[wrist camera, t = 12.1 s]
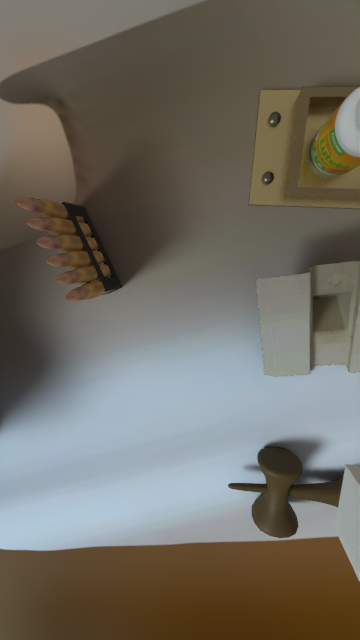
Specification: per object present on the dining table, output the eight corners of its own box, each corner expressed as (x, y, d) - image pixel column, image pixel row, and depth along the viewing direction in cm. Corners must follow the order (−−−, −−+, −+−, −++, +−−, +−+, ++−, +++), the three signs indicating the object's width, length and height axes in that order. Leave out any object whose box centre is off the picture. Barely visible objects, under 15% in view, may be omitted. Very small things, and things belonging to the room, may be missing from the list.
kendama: (367, 509, 41) (225, 498, 42) (377, 449, 39) (228, 439, 40) (394, 551, 35) (228, 536, 37) (408, 483, 33) (232, 470, 35)
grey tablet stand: (391, 309, 37) (436, 211, 26) (415, 371, 32) (484, 285, 21) (260, 321, 42) (248, 244, 31) (264, 376, 37) (252, 309, 26)
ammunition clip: (122, 287, 37) (79, 304, 25) (110, 292, 37) (62, 312, 26) (84, 206, 35) (19, 184, 23) (71, 213, 35) (1, 195, 24)
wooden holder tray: (248, 205, 33) (251, 201, 30) (259, 93, 30) (263, 78, 28) (408, 210, 31) (425, 207, 28) (435, 92, 28) (456, 77, 26)
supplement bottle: (298, 155, 30) (336, 112, 21) (336, 107, 29) (394, 38, 20) (337, 187, 31) (392, 159, 21) (376, 140, 29) (452, 89, 20)
